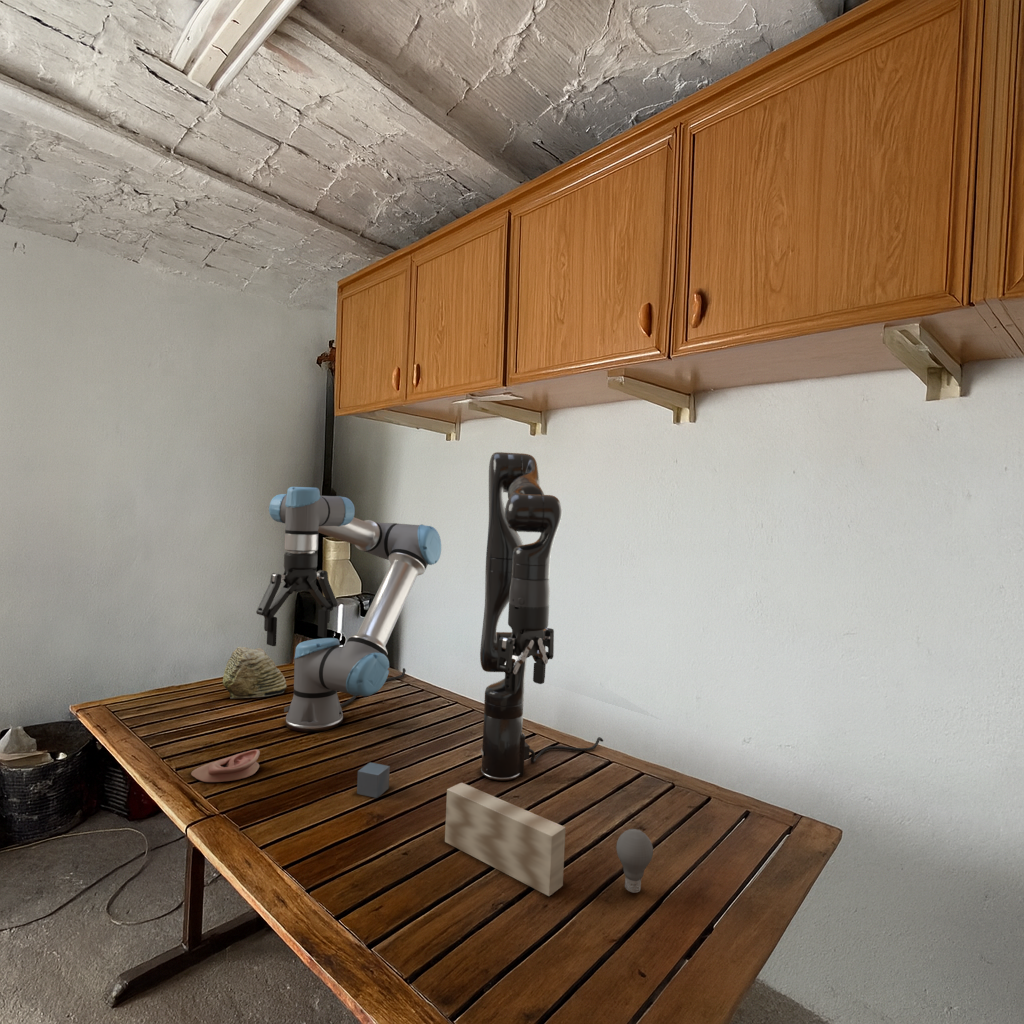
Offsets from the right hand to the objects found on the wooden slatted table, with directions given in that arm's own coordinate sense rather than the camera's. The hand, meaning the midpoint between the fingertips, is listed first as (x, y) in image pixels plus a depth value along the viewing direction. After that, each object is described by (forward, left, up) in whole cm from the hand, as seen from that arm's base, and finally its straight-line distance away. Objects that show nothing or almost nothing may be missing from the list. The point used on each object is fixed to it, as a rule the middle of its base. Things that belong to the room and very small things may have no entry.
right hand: (525, 687), depth 118 cm
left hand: (+38, -50, -1) cm, 63 cm away
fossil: (+47, -104, -30) cm, 118 cm away
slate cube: (+22, -29, -30) cm, 47 cm away
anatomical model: (+53, -47, -30) cm, 76 cm away
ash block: (+5, +5, -30) cm, 30 cm away
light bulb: (-13, +19, -30) cm, 37 cm away
